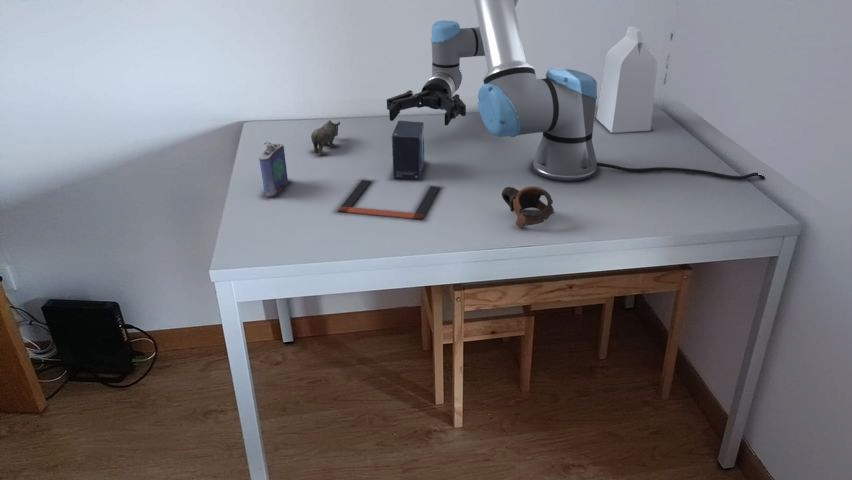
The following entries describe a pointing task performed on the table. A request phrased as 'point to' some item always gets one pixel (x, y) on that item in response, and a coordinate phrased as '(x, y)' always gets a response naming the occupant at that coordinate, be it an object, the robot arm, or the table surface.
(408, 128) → the small box
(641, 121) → the milk
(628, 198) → the table surface
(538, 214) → the pottery mug
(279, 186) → the flask
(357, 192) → the bay
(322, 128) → the rhino figurine
